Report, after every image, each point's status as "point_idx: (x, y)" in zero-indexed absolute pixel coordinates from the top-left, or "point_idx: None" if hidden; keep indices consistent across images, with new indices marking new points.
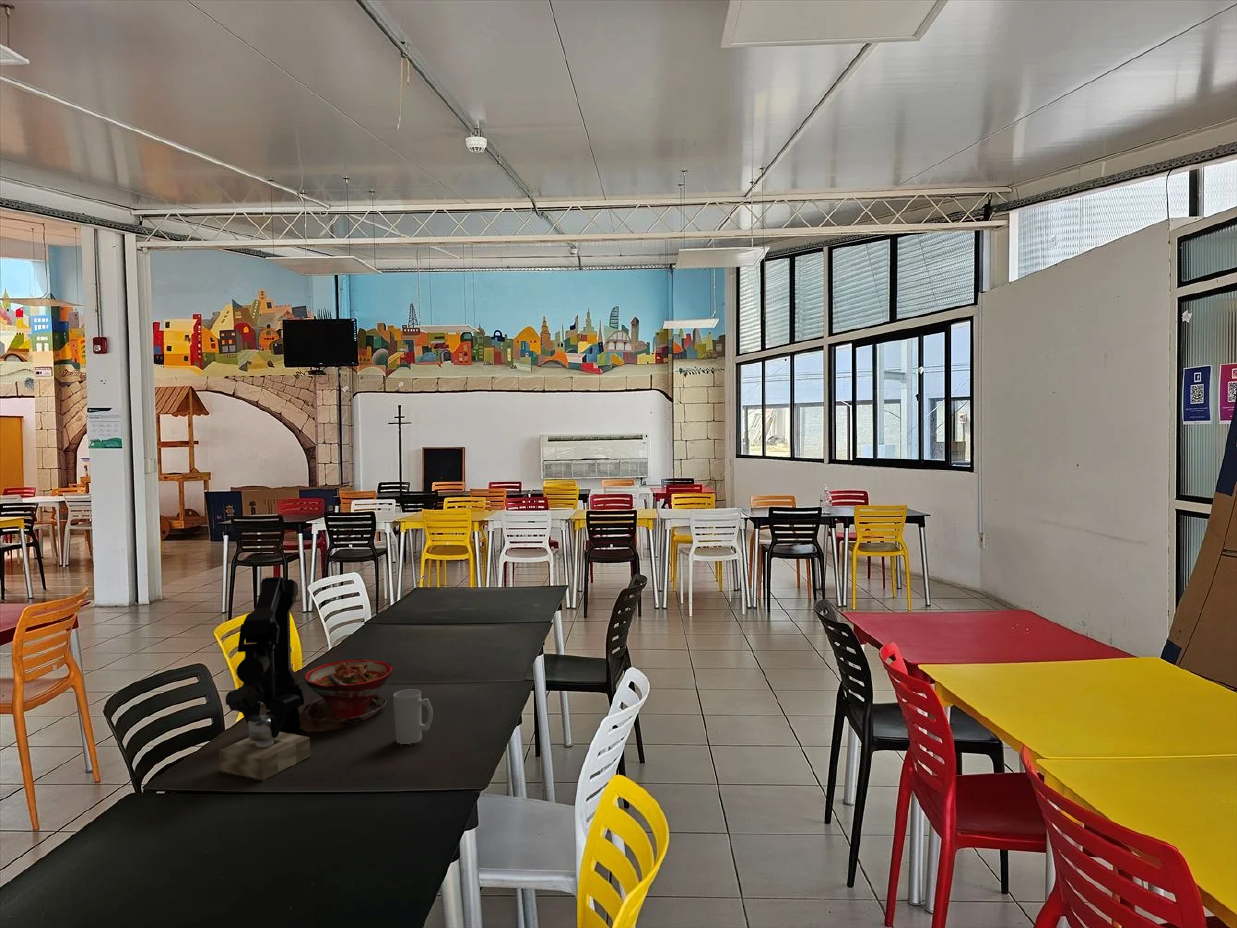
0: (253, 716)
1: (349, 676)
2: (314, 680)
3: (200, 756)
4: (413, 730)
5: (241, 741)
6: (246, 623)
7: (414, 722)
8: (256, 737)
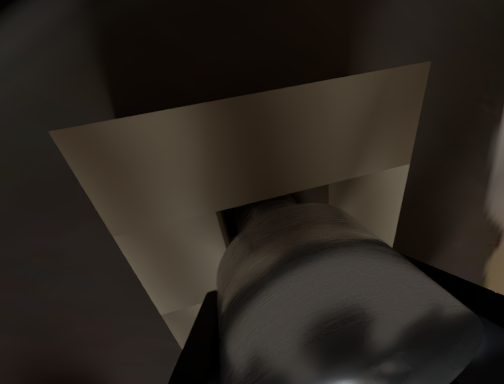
0: (483, 359)
1: None
2: None
3: (488, 114)
4: None
5: (396, 195)
6: None
7: None
8: (267, 231)
